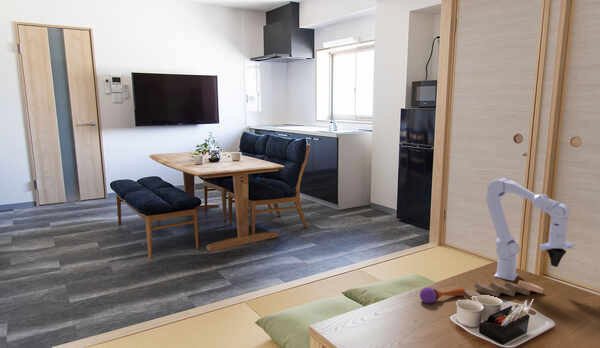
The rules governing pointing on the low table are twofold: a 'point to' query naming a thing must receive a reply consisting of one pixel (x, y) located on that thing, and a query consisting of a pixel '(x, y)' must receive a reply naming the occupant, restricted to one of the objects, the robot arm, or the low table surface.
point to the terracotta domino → (530, 286)
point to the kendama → (438, 294)
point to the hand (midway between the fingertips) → (554, 265)
